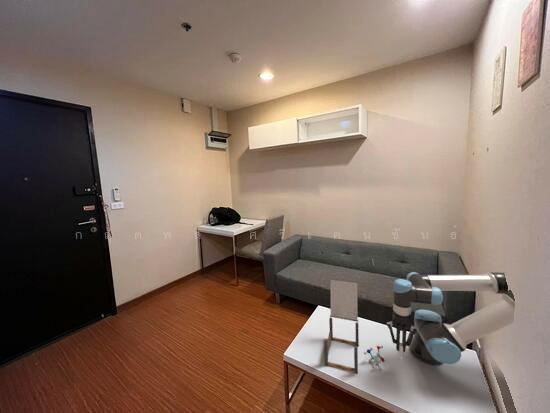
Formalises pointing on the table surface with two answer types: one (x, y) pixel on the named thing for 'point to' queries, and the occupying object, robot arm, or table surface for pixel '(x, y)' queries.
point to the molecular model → (375, 356)
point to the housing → (330, 338)
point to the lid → (344, 300)
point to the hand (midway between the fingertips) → (400, 356)
